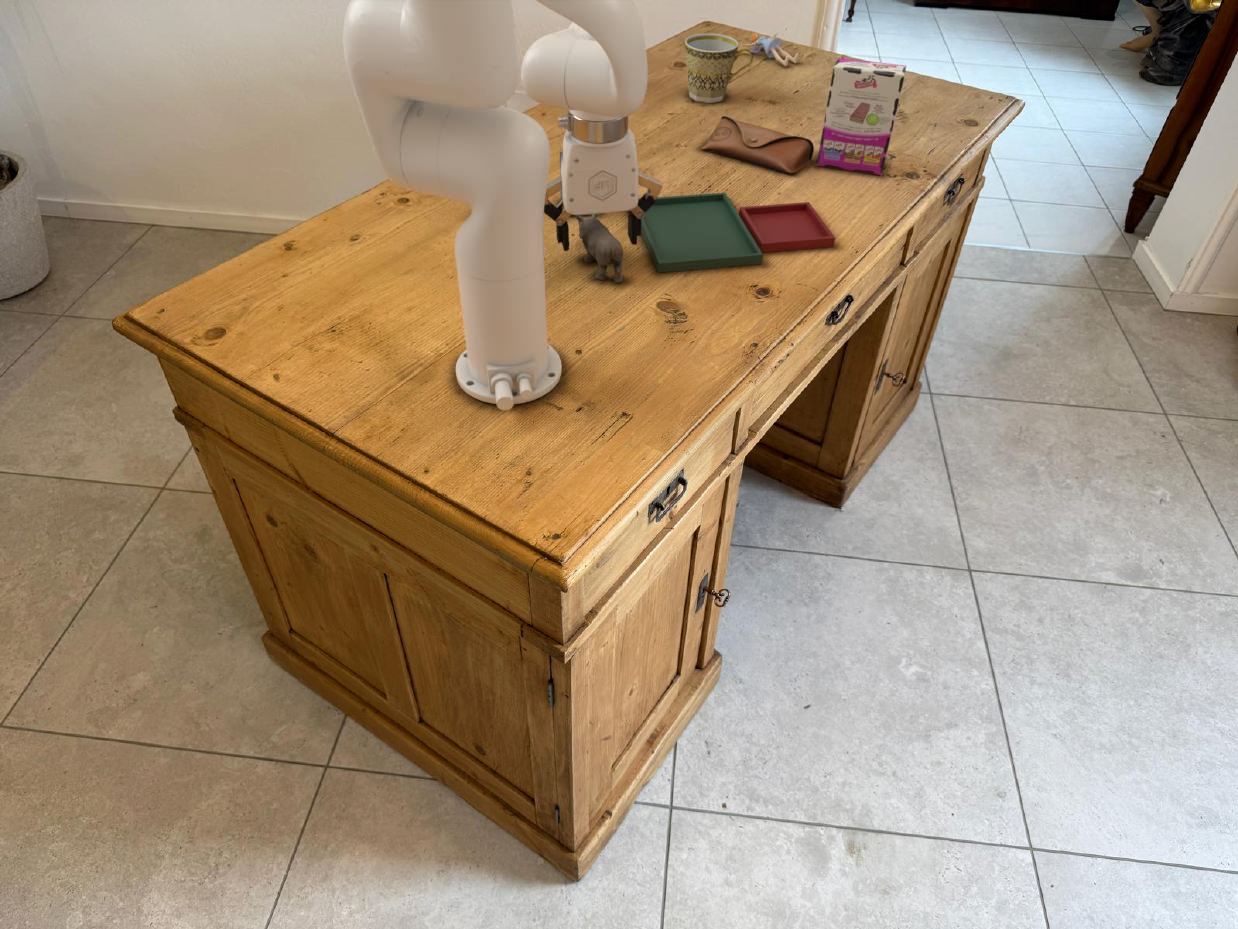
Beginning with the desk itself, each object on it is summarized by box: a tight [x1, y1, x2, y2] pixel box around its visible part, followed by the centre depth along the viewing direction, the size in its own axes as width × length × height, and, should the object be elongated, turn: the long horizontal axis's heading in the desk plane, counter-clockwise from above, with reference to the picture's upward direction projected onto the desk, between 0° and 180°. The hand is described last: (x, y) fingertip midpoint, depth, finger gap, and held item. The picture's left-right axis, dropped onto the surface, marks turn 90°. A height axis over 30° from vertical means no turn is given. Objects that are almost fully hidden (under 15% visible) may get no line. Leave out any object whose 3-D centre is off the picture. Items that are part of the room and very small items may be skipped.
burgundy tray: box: [738, 201, 836, 254], centre depth 132 cm, size 11×11×2 cm
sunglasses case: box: [701, 115, 815, 174], centre depth 151 cm, size 18×7×7 cm, turn 59°
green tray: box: [638, 192, 764, 273], centre depth 130 cm, size 19×15×2 cm
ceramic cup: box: [684, 32, 754, 104], centre depth 166 cm, size 13×10×10 cm
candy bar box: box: [816, 57, 907, 176], centre depth 144 cm, size 11×5×16 cm, turn 73°
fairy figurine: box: [740, 32, 800, 67], centre depth 186 cm, size 12×5×12 cm
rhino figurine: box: [576, 214, 624, 284], centre depth 123 cm, size 4×14×6 cm, turn 22°
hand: (598, 242), depth 124 cm, fingers open, 9 cm apart
